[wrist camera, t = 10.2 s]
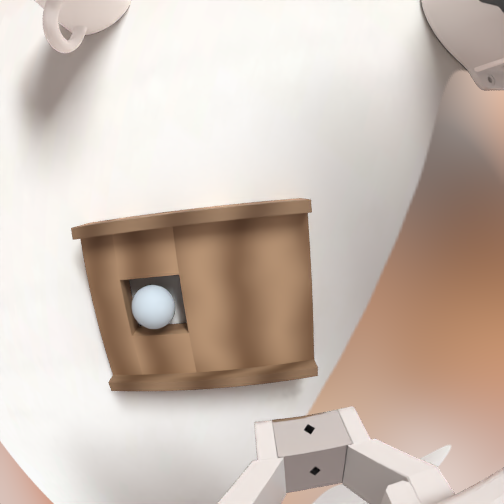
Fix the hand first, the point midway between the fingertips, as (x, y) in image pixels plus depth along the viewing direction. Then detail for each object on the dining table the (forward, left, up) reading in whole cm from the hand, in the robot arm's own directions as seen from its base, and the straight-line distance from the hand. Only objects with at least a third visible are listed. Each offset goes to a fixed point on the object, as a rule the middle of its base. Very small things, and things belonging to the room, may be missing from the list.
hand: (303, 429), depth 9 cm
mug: (+14, -28, -22) cm, 38 cm away
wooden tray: (+5, +2, -21) cm, 22 cm away
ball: (+11, +2, -21) cm, 24 cm away
